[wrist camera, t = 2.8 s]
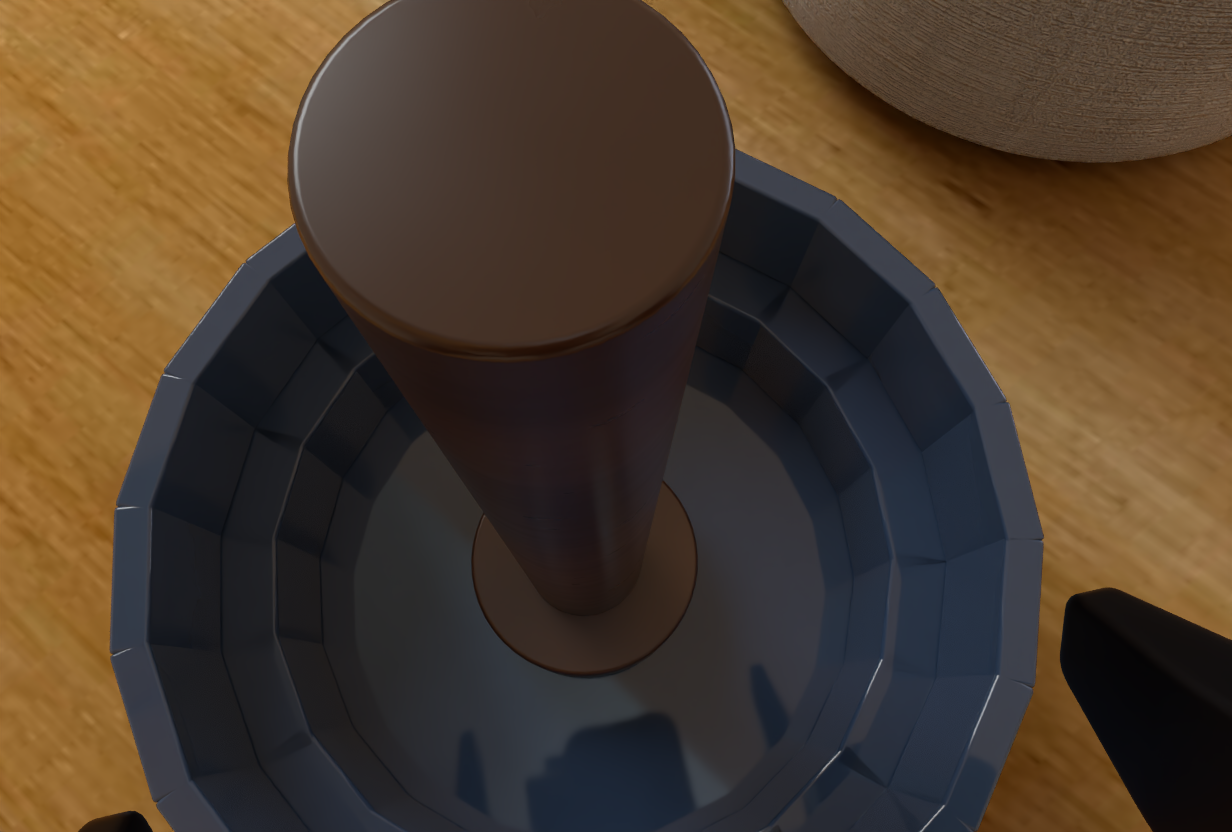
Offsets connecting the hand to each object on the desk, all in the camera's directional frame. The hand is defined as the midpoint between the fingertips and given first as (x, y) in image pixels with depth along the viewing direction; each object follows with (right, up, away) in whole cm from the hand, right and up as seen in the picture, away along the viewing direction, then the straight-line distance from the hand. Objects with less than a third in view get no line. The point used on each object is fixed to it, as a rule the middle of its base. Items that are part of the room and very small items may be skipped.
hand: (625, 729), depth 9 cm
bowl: (-1, 0, +11) cm, 11 cm away
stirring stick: (-1, 0, +11) cm, 11 cm away
